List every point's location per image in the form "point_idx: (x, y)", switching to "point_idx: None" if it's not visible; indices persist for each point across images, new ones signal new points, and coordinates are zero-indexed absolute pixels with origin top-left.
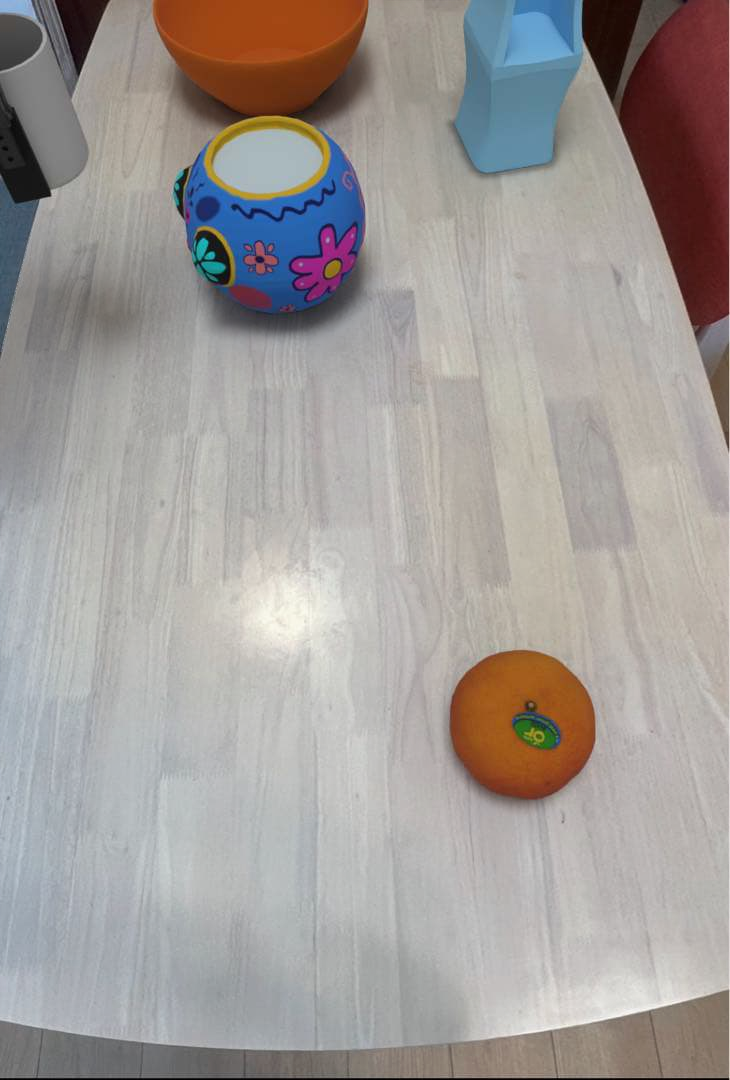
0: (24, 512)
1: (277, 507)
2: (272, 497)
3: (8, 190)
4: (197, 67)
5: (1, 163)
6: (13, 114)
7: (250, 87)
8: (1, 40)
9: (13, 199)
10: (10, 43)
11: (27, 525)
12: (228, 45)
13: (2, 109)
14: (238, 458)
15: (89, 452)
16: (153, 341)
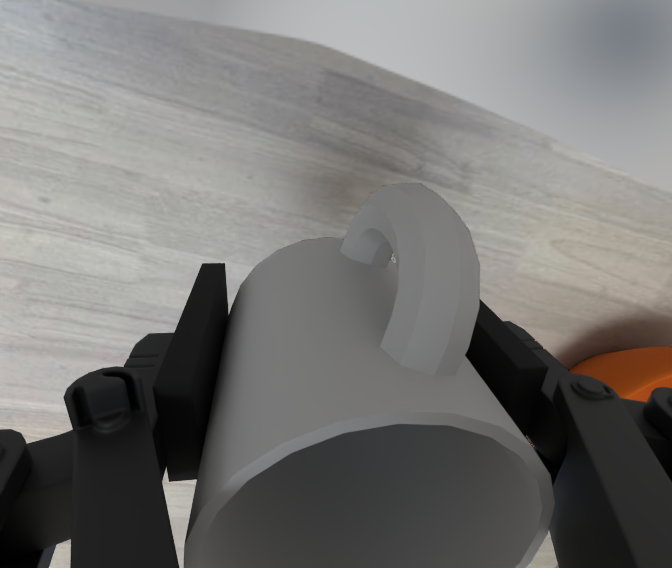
0: (43, 19)
1: (29, 311)
2: (43, 309)
3: (197, 277)
4: (614, 384)
5: (134, 347)
6: (170, 476)
7: None
8: (495, 472)
9: (201, 268)
10: (481, 479)
11: (20, 20)
12: (665, 379)
13: None
14: (101, 287)
15: (135, 127)
16: (290, 230)
